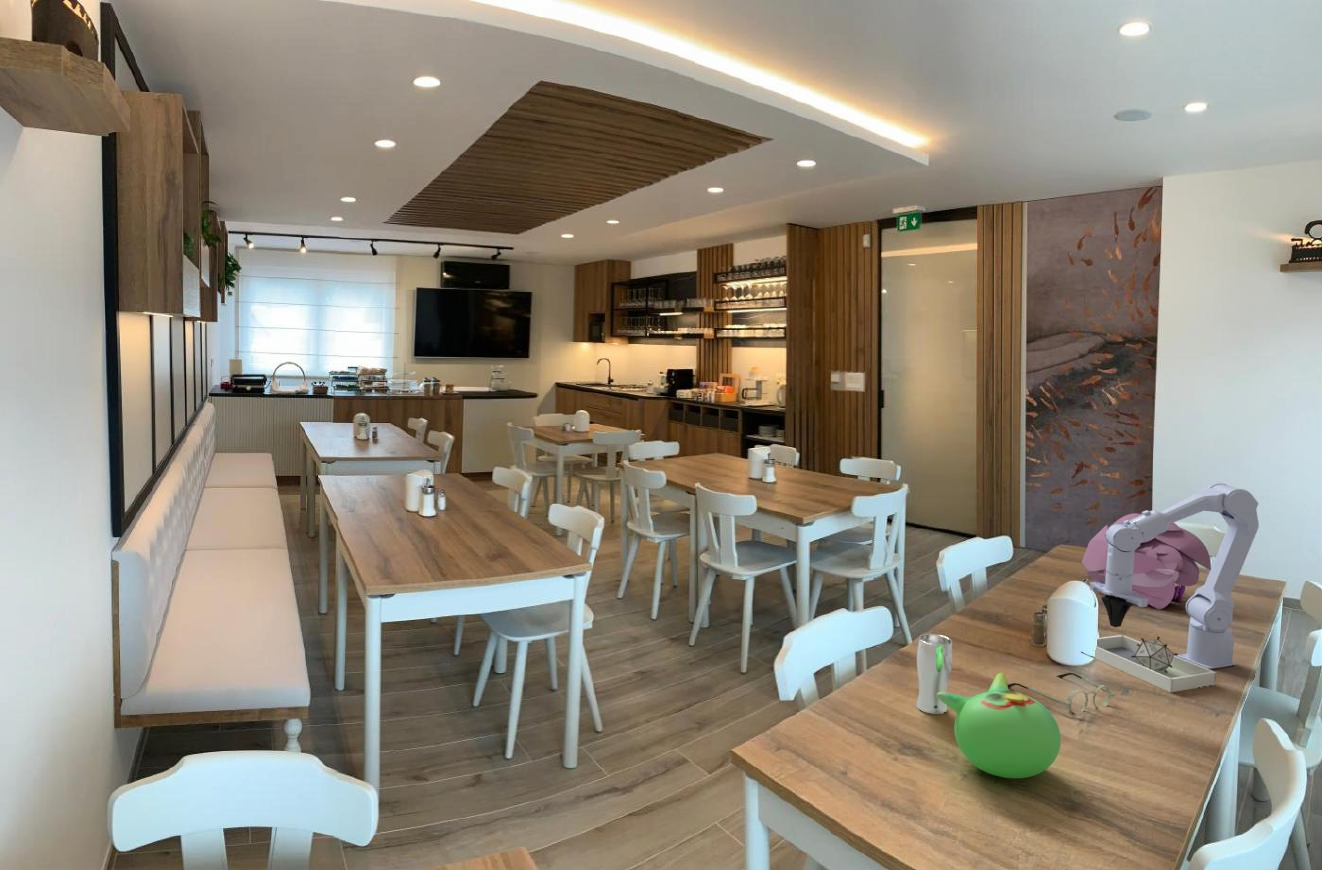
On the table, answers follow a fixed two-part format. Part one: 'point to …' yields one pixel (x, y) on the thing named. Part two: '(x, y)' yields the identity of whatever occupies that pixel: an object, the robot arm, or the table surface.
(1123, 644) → the shallow open box
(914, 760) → the table surface
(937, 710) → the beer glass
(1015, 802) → the table surface
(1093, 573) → the pink rounded layered piece
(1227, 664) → the robot arm
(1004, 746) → the green squishy toy
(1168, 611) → the table surface
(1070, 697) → the eyeglasses
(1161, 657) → the game die
